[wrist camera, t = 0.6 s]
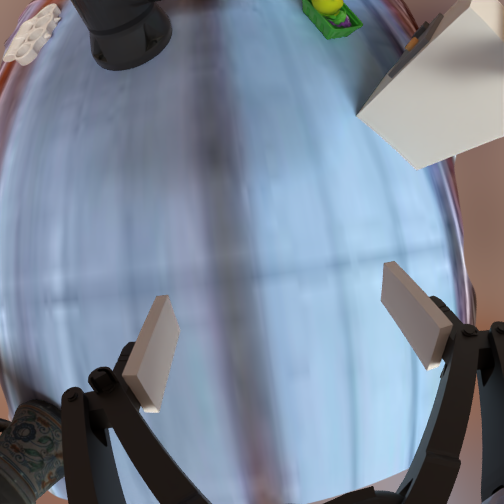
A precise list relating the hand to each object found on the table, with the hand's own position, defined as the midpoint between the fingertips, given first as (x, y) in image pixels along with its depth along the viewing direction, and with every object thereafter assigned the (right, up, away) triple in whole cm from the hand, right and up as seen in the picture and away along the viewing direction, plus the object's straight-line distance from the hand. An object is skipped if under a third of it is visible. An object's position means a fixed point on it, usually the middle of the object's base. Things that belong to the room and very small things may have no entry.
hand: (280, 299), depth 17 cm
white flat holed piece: (-51, +52, +20) cm, 76 cm away
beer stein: (-42, -33, +21) cm, 57 cm away
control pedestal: (+25, +27, +26) cm, 45 cm away
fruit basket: (+12, +47, +25) cm, 54 cm away
